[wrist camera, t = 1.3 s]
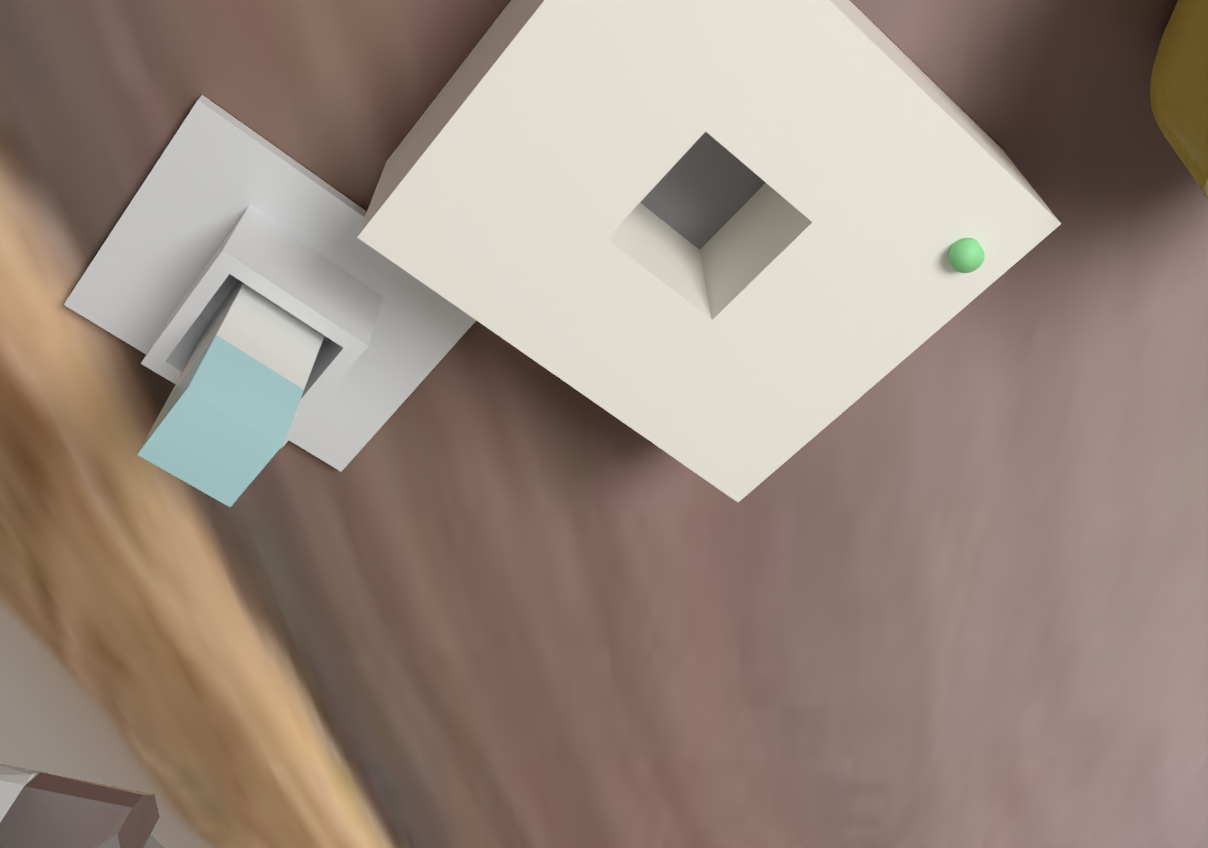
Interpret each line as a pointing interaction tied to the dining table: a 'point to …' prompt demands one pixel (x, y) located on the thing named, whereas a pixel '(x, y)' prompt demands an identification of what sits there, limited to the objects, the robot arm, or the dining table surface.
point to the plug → (234, 396)
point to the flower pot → (1184, 86)
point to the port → (703, 212)
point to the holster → (267, 278)
